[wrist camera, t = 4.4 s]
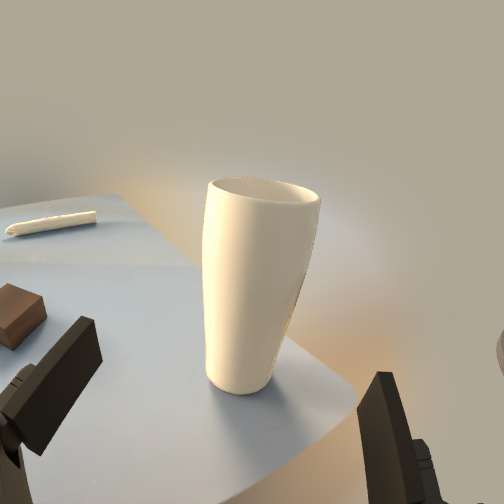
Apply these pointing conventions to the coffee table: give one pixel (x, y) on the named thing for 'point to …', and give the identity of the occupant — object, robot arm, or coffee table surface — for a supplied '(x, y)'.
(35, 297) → the walnut block
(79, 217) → the marker
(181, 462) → the coffee table surface
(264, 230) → the drinking glass
